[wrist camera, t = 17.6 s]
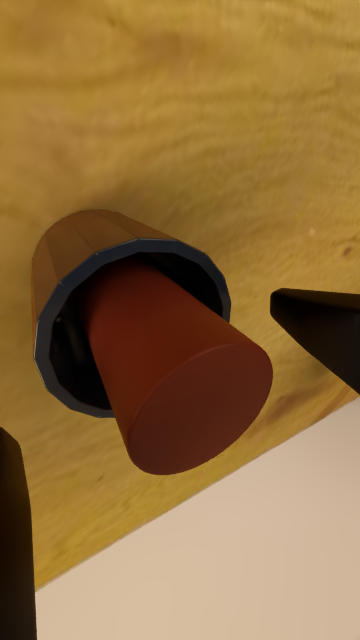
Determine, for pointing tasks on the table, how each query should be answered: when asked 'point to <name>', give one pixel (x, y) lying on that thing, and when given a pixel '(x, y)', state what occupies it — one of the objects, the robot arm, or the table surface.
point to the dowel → (169, 366)
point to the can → (77, 265)
